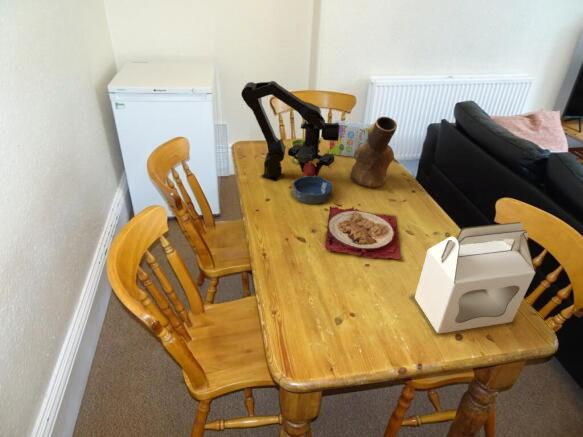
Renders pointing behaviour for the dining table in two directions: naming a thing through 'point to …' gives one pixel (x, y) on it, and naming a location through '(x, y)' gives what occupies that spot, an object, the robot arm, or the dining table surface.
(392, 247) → the plate with food
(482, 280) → the gable box
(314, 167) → the onion
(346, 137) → the snack box
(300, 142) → the plant pot
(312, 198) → the bowl
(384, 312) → the dining table surface
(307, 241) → the dining table surface
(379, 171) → the ceramic vessel
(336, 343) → the dining table surface
